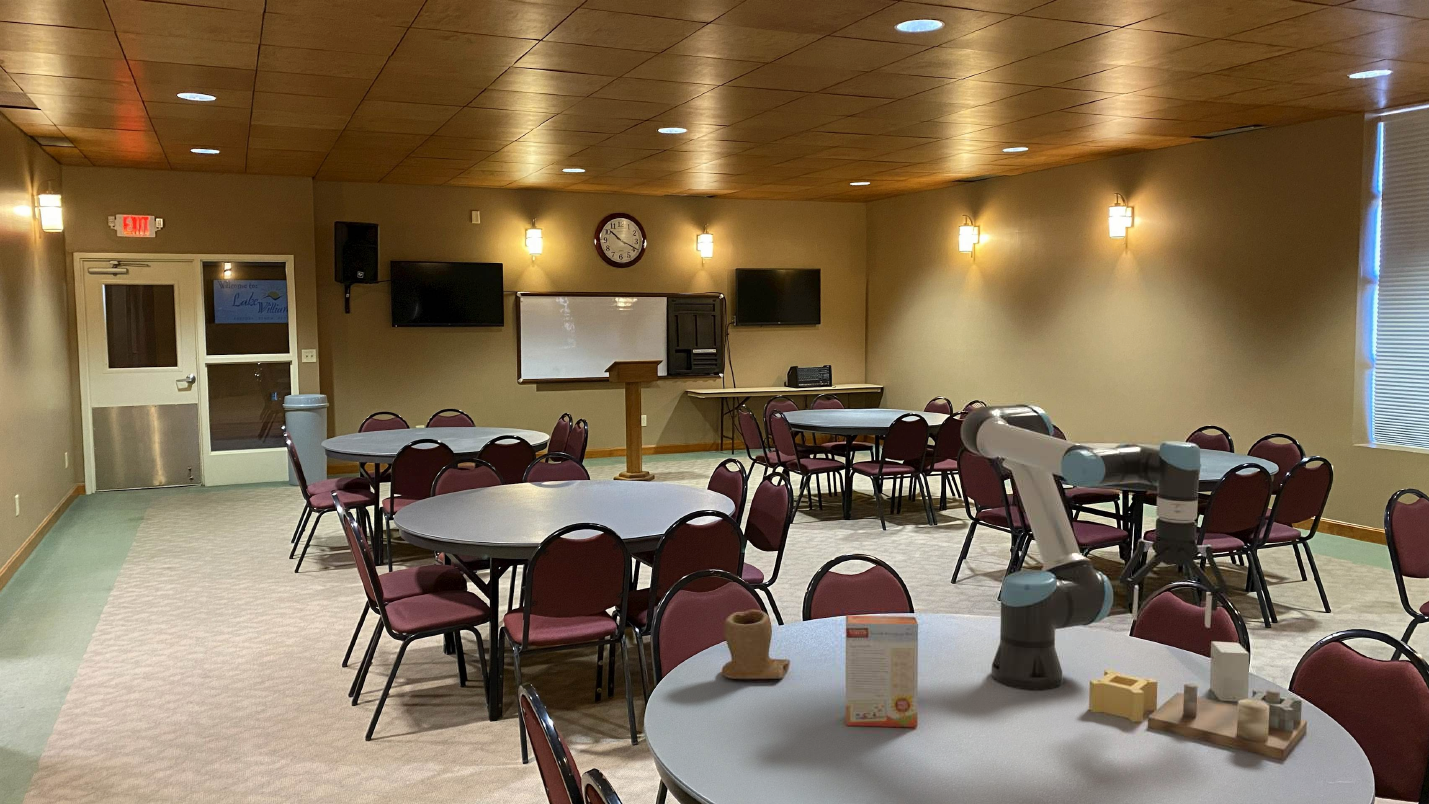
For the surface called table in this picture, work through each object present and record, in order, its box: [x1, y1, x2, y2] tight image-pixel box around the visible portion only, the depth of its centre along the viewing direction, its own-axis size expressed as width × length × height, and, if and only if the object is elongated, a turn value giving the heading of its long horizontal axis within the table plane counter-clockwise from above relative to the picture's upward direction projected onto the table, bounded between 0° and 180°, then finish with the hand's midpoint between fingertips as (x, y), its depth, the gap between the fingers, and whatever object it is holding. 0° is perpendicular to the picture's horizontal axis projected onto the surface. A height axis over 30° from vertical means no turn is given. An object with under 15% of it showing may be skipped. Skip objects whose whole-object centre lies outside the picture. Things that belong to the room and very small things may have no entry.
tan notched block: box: [1088, 669, 1158, 723], centre depth 214 cm, size 11×11×6 cm
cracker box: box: [845, 615, 919, 728], centre depth 207 cm, size 14×6×21 cm, turn 84°
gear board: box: [1147, 683, 1308, 761], centre depth 204 cm, size 24×18×8 cm
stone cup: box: [721, 609, 791, 680], centre depth 234 cm, size 15×12×15 cm
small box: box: [1209, 640, 1250, 703], centre depth 222 cm, size 8×6×10 cm
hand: (1170, 621), depth 213 cm, fingers open, 13 cm apart
